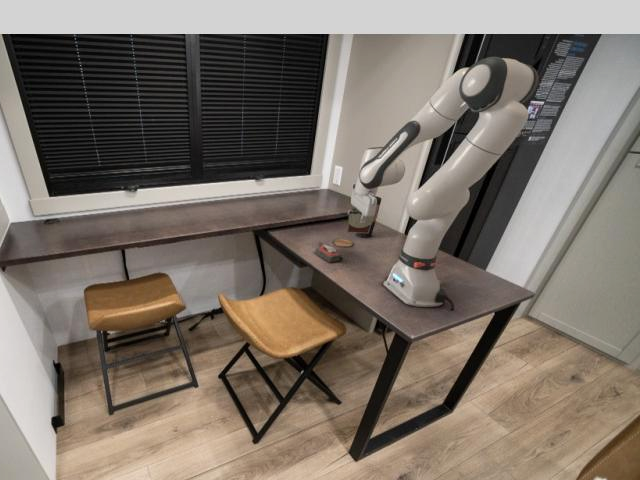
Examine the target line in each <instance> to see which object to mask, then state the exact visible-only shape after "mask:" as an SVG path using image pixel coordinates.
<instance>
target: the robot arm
mask: <svg viewBox="0 0 640 480" xmlns="http://www.w3.org/2000/svg"><path fill="white" fill-rule="evenodd" d="M538 86H539V74H538V72H537V70H536V68H534V66H531V65H530V64H526V63H523V62H520V61H518V60H517V59H513V58H506V57H500V56H489V57H486V58H482V59H480V60H477V61H476V62H474V63H473V64H472V65H471V66H469V67H463V68H460V69H458V70H457V71H456V72H454V73H453V74H452V75H451V76H450V77H449V78H448V79H447V80H445V81H444V83H442V84H441V86H440V87H439V88H438V89H437V90H436V91H435V93H434V94H433V95H432V96H431V97H430V98H429V100H428V101H427V102H426V103H425V104H424V105H423V106H422V107H421V109H420V110H419V111H418V112H417V113H416V114H415V115H414V116H413V117H412V118H411V119H410V120H409V121H408V122H407V123H405V124H404V125H403V126H402V127H401V128H400V129H399V130H398V131H397V132H396V133H395V134H394V135H393V136H392V138H391V139H389V140H388V142H387V143H386V144H385V145H384V146H376V147H369V148H367V149H366V150H364V152H363V155H362V158H361V161H360V165H359V170H358V171H359V175H358V177H357V180H356V182H353V183H352V184H351V189H352V191H351V196H350V204H351V205H352V206H353V208H354V207H356V208H357V209H358V210H359V211H360V212H361V213H362V217H361V218H360V223H365V219H366V218H367V217H373V216H374V215H375V212H376V206H377V198H376V197H375V196H376V195H377V193H378V189H379V187H380V188H381V187H386V186H392V185H396V184H398V183H399V182H401V181H402V179H403V178H404V176H405V172H406V165H405V163H404V162H403V161H402V160H401V159H398V158H399V157H401V156H402V155H403V153H404V152H406V151H407V150H409V149H410V148H412V147H414V146H416V145H418V144H421V143H423V142H426V141H430V140H433V139H436V138H438V137H440V136H441V135H443V134H444V133H446V132H447V131H448V130H449V129H450V128H451V127H452V126H453V125H454V124H456V122H457V121H459V119H460V118H461V117H462V116H463V115H464V114H465V113H466V111H467V110H468V109H470V112H471V113H473V114H478V113H479V115H478V119H477V121H476V123H475V124H474V126H473V127H472V129H471V130H470V131H469V133H468V134H467V135H466V136H465V138H464V139H463V140H462V142H461V143H460V144H459V145H458V147H457V148H456V149H455V150H454V152H453V153H452V154H451V156H450V157H449V158H448V160H446V162H445V163H444V164H443V165H442V166H441V167H440V168H438V170H437V171H436V172H434V174H433V175H432V176H430V178H428V180H427V181H426V182H424V183H423V184H422V185H421V186H420V187H419V188H418V189H416V190H415V191H414V192H412V194H410V195H409V197H408V198H407V200H406V204H405V208H406V213H407V214H408V216H409V217H410V218H411V219H413V220H415V221H416V222H415V223H414V224H413V225H412V227H410V229H409V231H408V233H407V235H406V238H405V242H404V245H403V248H401V250H400V251H399V255H398V260H397V262H396V263H395V264H394V265H393V267H392V268H391V271H390V272H389V276H388V277H387V280H385V281H383V286H384V287H386V289H388V290H389V291H390V292H391V293H392V294H394V295H395V296H396V297H397V298H398V299H399V300H401V301H402V302H403V303H404V304H406V305H409V306H412V307H419V308H435V307H440V306H442V305H443V304H444V303H445V302H446V301H447V302H448V303H449V305H450V311H455V305H454V302H453V300H452V298H450V297H448V294H447V292H446V290H445V289H443V288H441V286H440V285H441V284H442V283H441V282H442V281H441V280H440V279H438V276H437V273H436V271H435V267H437V265H438V262H437V253H438V251H439V249H440V246H441V243H442V241H443V239H444V237H445V236H446V233H447V232H448V230H449V229H450V227H451V226H452V224H453V222H454V221H455V220H456V218H457V217H458V215H459V213H460V212H461V211H462V209H463V208H464V207H465V206H466V205H467V204H468V203H469V200H470V190H469V188H471V187H472V186H473V185H475V184H476V183H477V182H478V181H480V180H481V179H482V178H483V177H484V176H485V175H486V173H487V172H488V171H489V170H490V169H491V168H492V167H493V165H495V164H496V163H497V161H498V160H499V159H500V158H501V157H502V155H503V154H504V153H505V152H506V151H507V149H508V148H509V147H510V146H511V145H512V143H514V141H515V140H516V138H517V137H518V135H519V134H520V133H521V132H522V130H523V128H524V127H525V125H526V123H527V122H528V119H529V110H528V109H527V107H526V106H525V105H524V103H525V102H527V101H528V100H529V99H530V98H531V97H532V96H533V94H534V93H535V91H536V90H537V87H538Z"/></svg>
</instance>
